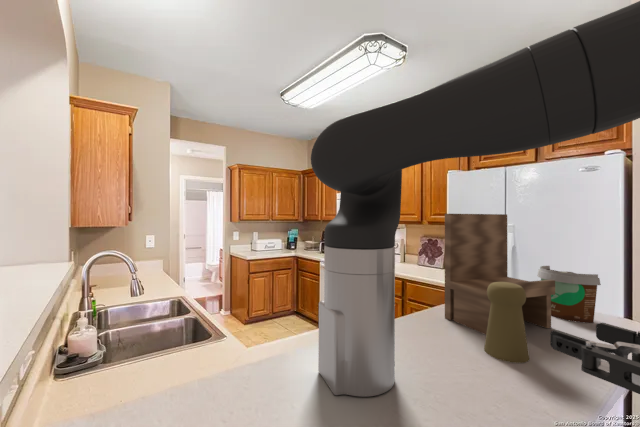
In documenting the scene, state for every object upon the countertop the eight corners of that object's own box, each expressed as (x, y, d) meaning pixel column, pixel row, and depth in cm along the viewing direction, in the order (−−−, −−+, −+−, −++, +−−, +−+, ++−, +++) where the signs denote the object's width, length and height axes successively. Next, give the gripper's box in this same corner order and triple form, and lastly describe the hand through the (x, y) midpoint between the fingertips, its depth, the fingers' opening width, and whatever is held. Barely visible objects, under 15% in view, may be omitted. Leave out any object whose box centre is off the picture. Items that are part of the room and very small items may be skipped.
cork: (528, 367, 43) (528, 289, 43) (480, 355, 46) (480, 283, 46) (530, 352, 47) (530, 282, 48) (487, 342, 51) (487, 277, 51)
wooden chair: (492, 338, 53) (492, 212, 53) (444, 317, 63) (444, 213, 64) (555, 328, 58) (554, 214, 58) (501, 310, 69) (500, 214, 69)
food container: (523, 307, 71) (523, 265, 71) (547, 307, 72) (547, 265, 72) (573, 326, 59) (572, 275, 59) (601, 325, 60) (600, 274, 60)
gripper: (854, 350, 25) (610, 299, 40) (777, 379, 20) (535, 309, 36) (855, 441, 25) (611, 356, 40) (779, 492, 20) (535, 373, 35)
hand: (575, 334), depth 38 cm, fingers open, 8 cm apart
